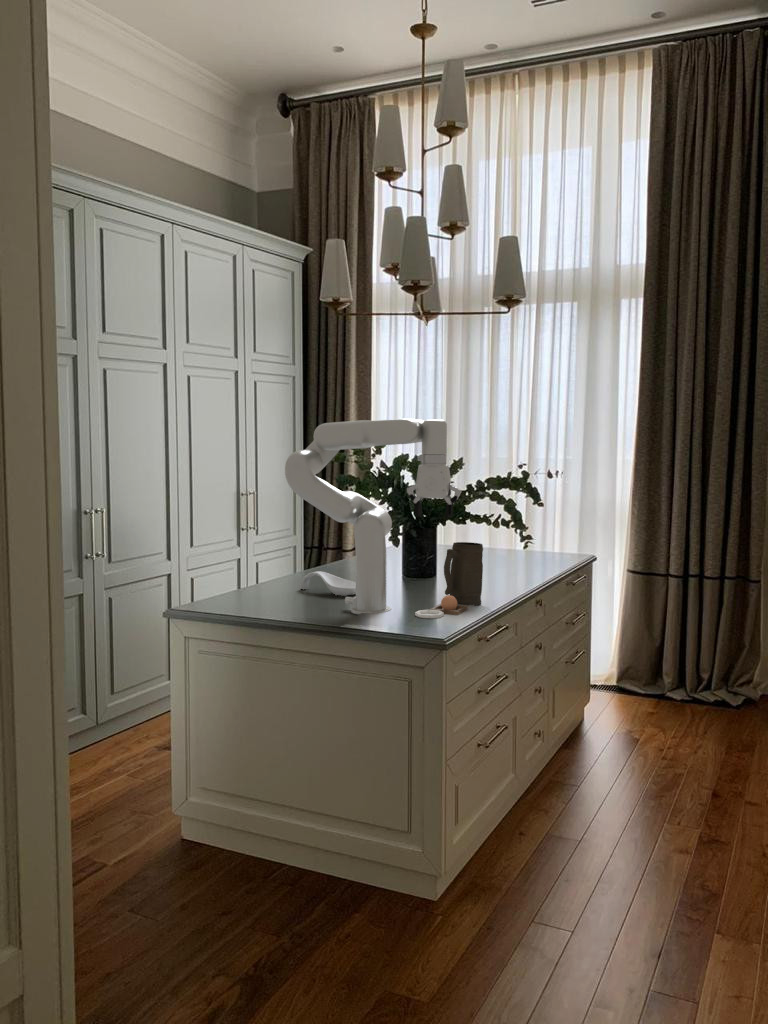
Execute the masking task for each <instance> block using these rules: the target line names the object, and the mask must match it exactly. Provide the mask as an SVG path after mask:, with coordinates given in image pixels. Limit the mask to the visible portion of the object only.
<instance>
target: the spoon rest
mask: <svg viewBox="0 0 768 1024" xmlns="http://www.w3.org/2000/svg"><path fill="white" fill-rule="evenodd" d="M315 576H318V577H320V578H321V580H322V581H323V582H324V584H325V586H326V587H327V589H328V590H329V591H330V592H331V593H333V595H334V594H335V595H334V596H337V595H341V596H340V597H348V596H347V595H351V596H354V595H356V581H353V580H349V579H345V578H342V577H339V576H338V575H337V576H336V575H334V574H332V573H328V572H326V571H320V570H319V571H313V572H309V573H307V574H305V576H303V578H302V579H301V581H300V584H299V590H300V589H306V590H308V589H309V588H310V580H311V578H313V577H315ZM307 588H308V589H307Z"/></svg>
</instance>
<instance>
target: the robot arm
mask: <svg viewBox="0 0 768 1024" xmlns="http://www.w3.org/2000/svg"><path fill="white" fill-rule="evenodd" d="M447 429H448V423H447V421H446V420H445V419H437V418H435V419H434V418H431V419H429V418H428V419H425V420H423V419H415V418H409V417H407V418H397V419H383V420H367V419H364V420H363V419H362V420H361V419H360V420H349V421H335V422H334V421H333V422H325V423H321V424H319V425H318V426H316V428H315V429H314V433H313V441H312V442H311V443H309V445H308V446H307V447H306V448H305V449H299V450H296V451H294V452H292V453H291V454H290V455H289V456H288V457H287V459H286V461H285V465H284V475H285V476H284V477H285V478H286V481H287V484H288V486H289V487H290V489H291V490H292V491H293V492H294V493H295V494H296V495H297V496H298V497H300V498H301V499H303V500H304V501H306V502H307V503H309V504H310V505H312V506H313V507H315V508H316V509H318V510H319V511H321V512H323V514H325V515H327V517H329V518H331V519H332V520H334V521H336V522H338V523H341V524H342V523H349V524H351V525H353V526H354V528H353V534H354V535H353V536H354V545H355V582H356V594H355V596H353V597H351V596H345V598H344V604H346V605H352V607H351V608H350V613H352V614H354V615H361V614H381V613H386V612H390V611H392V607H391V606H388V605H387V544H386V536H387V535H388V534H389V533H390V532H391V529H392V526H393V521H392V517H391V516H390V514H389V513H388V512H387V511H386V510H385V509H383V508H382V507H380V506H379V505H378V504H375V503H374V502H373V501H370V500H369V499H368V498H366V497H364V496H363V495H361V494H360V493H358V492H355V491H353V490H343V491H342V490H340V489H338V488H337V487H336V486H334V485H332V484H330V483H329V482H328V481H326V480H325V479H323V478H320V477H318V476H317V474H319V473H320V472H321V471H322V470H323V469H324V468H326V466H327V465H328V464H329V463H330V462H331V460H332V459H334V457H335V456H336V455H337V454H338V453H339V451H340V450H353V449H356V450H357V449H367V448H368V449H369V448H371V447H372V448H373V447H380V446H392V445H394V446H395V445H408V444H409V445H410V444H416V443H421V454H420V456H419V455H418V456H417V461H418V462H419V461H420V463H421V464H418V466H417V467H418V468H417V473H416V474H417V475H416V480H415V481H416V483H415V484H413V485H411V486H410V487H409V486H408V487H407V488H406V492H407V494H408V496H409V498H410V499H411V500H412V502H413V503H414V513H415V517H421V516H422V515H423V513H422V511H423V510H422V509H423V503H422V502H421V501H422V500H423V499H424V498H425V499H444V501H445V502H446V503H447V504H445V518H446V519H449V518H452V516H453V515H454V513H453V512H454V509H453V508H454V507H453V506H454V504H455V502H457V501H458V500H459V497H460V496H461V494H462V489H460V488H458V487H457V486H455V485H453V484H452V482H451V481H452V479H451V472H450V471H451V470H450V467H449V465H448V464H447V460H448V459H447V458H448V457H447V456H448V455H447V454H448V453H447V451H448V449H447V448H448V447H447V442H448V440H447V439H448V436H447V435H448V430H447ZM414 491H415V493H414ZM452 491H453V492H454V495H453V496H451V495H452Z"/></svg>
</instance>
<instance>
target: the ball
mask: <svg viewBox="0 0 768 1024" xmlns="http://www.w3.org/2000/svg"><path fill="white" fill-rule="evenodd" d="M440 604H441V606H442V608H441V609H443V610H455V611H456V610H457V609H456V607H457V605H458V604H457V600H456V598H455V597H453V596H451V595H450V594H449V595H445V596H444V597H442V599H441V601H440Z"/></svg>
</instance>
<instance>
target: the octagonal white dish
mask: <svg viewBox="0 0 768 1024" xmlns="http://www.w3.org/2000/svg"><path fill="white" fill-rule="evenodd" d="M414 614H415V616H416V617H417V618H421V619H440V618H443V616H444V615H445V614H444V612H442V611H439V610H430V609H422V610H421V609H420V610H419V609H418V611H415V612H414Z"/></svg>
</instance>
